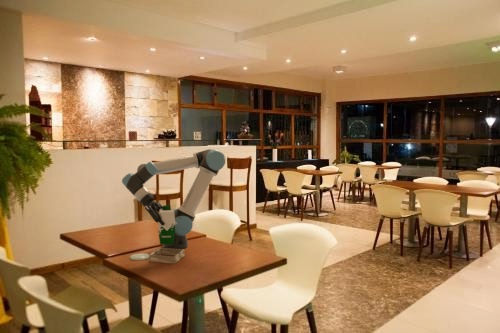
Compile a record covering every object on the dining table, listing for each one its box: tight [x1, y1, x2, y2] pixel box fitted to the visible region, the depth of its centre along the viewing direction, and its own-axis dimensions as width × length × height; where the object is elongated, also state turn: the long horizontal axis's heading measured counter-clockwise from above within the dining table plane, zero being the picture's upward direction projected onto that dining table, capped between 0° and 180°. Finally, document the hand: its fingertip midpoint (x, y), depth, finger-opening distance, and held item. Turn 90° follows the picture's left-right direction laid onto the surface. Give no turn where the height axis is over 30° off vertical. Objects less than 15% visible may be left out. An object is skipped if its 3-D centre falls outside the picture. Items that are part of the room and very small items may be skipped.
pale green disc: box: [129, 253, 150, 262], centre depth 212 cm, size 11×11×1 cm
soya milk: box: [157, 204, 175, 245], centre depth 210 cm, size 9×9×20 cm
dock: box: [148, 247, 186, 264], centre depth 212 cm, size 15×15×4 cm
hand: (172, 226), depth 210 cm, fingers closed on soya milk, 9 cm apart
